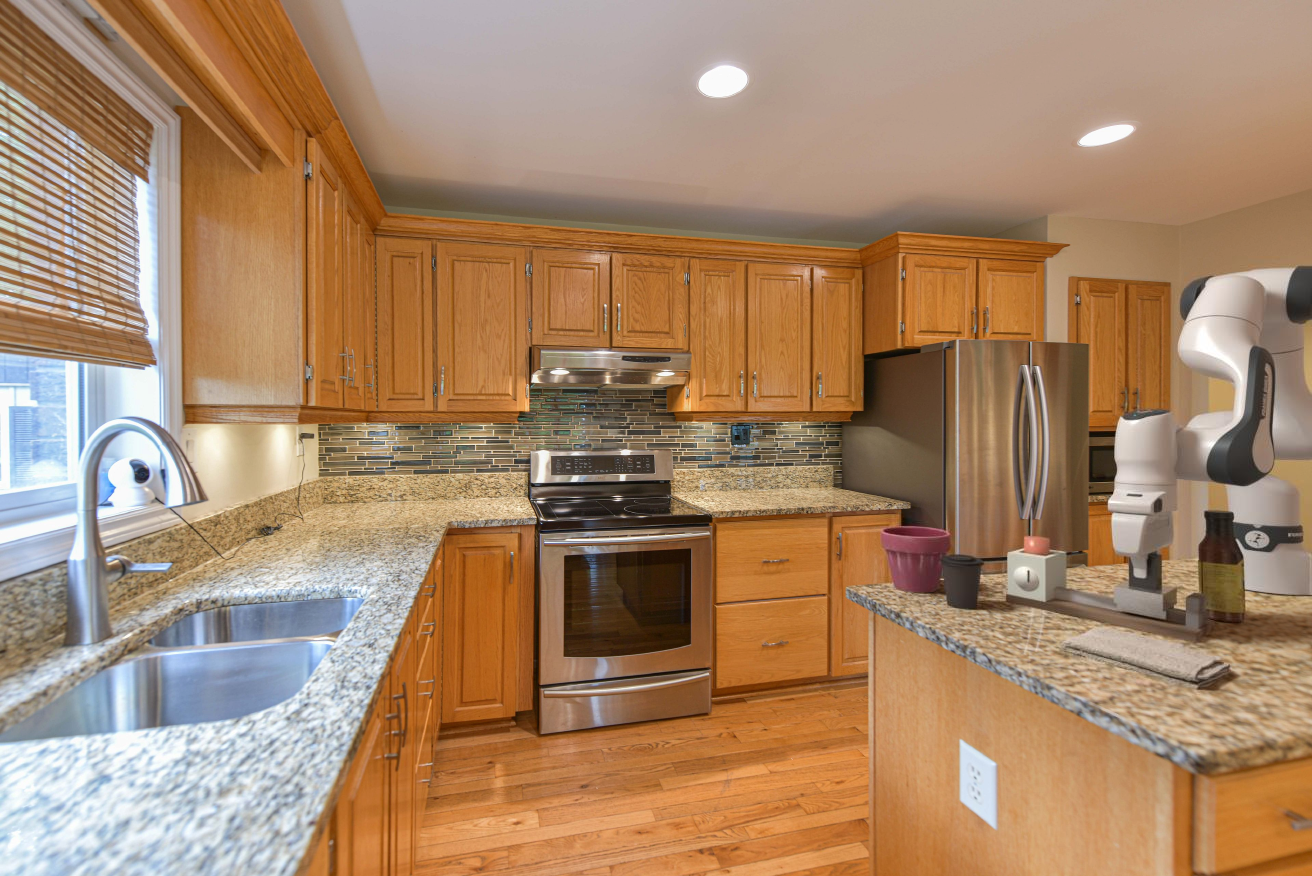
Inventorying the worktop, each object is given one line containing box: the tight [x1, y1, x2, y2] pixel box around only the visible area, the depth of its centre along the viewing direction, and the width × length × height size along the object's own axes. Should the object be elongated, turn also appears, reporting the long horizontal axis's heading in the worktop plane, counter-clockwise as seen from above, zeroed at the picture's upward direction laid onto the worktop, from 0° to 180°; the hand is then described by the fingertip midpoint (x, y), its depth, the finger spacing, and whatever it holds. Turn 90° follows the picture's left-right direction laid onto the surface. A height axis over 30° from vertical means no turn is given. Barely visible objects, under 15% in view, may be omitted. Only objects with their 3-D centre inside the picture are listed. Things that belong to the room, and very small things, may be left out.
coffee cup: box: [939, 553, 985, 610], centre depth 120 cm, size 8×8×10 cm
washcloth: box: [1061, 626, 1232, 691], centre depth 91 cm, size 12×18×3 cm, turn 31°
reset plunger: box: [1023, 535, 1051, 556], centre depth 122 cm, size 4×4×6 cm
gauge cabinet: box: [1006, 547, 1067, 602], centre depth 122 cm, size 10×7×10 cm
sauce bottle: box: [1197, 509, 1247, 623], centre depth 110 cm, size 7×6×20 cm
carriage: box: [1113, 553, 1178, 620], centre depth 108 cm, size 8×7×11 cm
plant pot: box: [880, 525, 952, 594], centre depth 133 cm, size 14×14×13 cm
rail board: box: [1005, 587, 1215, 643], centre depth 113 cm, size 11×30×6 cm, turn 36°
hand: (1145, 575), depth 108 cm, fingers closed on carriage, 3 cm apart
